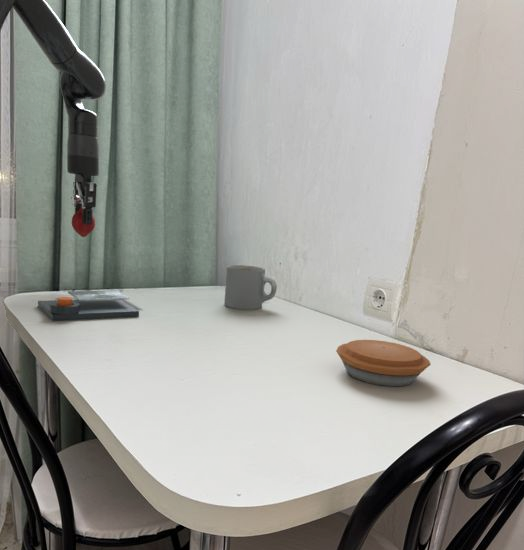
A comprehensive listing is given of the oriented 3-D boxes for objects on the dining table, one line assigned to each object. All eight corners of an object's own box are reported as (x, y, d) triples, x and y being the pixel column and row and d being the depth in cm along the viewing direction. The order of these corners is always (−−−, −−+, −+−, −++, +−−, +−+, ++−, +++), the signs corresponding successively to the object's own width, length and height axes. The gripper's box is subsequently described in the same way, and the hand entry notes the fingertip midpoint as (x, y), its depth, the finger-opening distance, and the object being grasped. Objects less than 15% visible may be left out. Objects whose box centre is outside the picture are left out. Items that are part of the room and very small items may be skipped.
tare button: (59, 307, 102) (59, 299, 102) (56, 304, 104) (55, 297, 104) (73, 306, 104) (73, 299, 103) (70, 304, 106) (70, 296, 106)
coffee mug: (217, 305, 131) (219, 266, 129) (235, 300, 140) (238, 264, 137) (263, 313, 126) (266, 273, 123) (279, 308, 135) (283, 270, 132)
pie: (360, 355, 97) (364, 330, 95) (439, 378, 88) (445, 350, 86) (316, 371, 85) (320, 343, 84) (403, 399, 76) (408, 368, 75)
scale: (53, 322, 101) (52, 307, 100) (37, 306, 112) (37, 293, 111) (139, 317, 111) (139, 304, 110) (117, 304, 122) (117, 291, 121)
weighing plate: (78, 300, 108) (78, 299, 108) (68, 292, 115) (68, 291, 115) (129, 299, 114) (129, 297, 114) (115, 291, 121) (115, 290, 121)
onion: (94, 239, 132) (95, 207, 129) (71, 237, 130) (70, 205, 128) (95, 236, 137) (95, 206, 135) (72, 235, 135) (72, 204, 133)
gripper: (107, 156, 124) (106, 226, 129) (89, 157, 135) (89, 221, 140) (76, 152, 120) (76, 225, 125) (59, 153, 131) (60, 220, 136)
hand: (83, 223), depth 132 cm, fingers closed on onion, 6 cm apart
